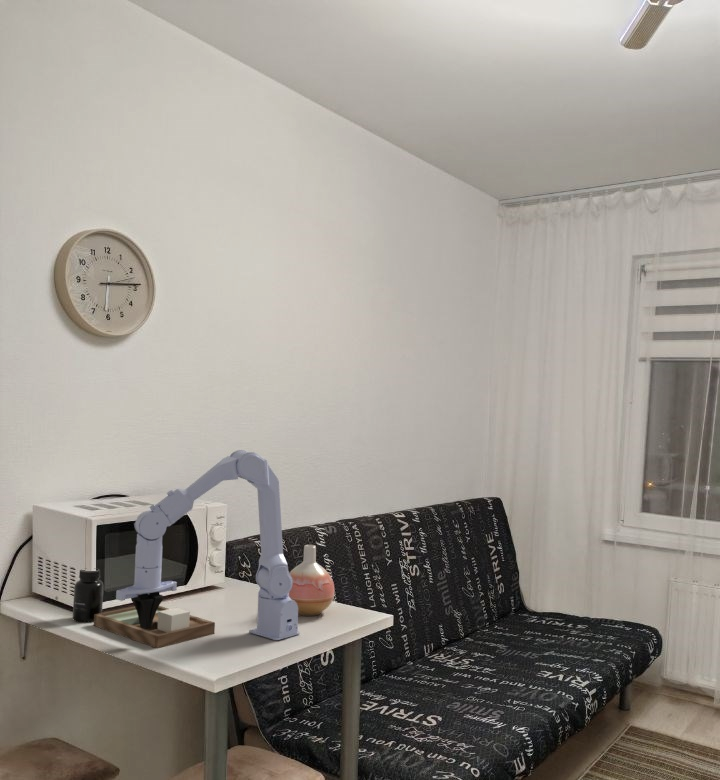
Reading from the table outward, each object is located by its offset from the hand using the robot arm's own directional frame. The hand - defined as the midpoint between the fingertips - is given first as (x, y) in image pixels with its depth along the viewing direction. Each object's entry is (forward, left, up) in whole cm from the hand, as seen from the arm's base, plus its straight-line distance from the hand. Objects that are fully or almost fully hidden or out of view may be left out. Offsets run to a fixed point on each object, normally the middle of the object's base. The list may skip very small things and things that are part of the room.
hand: (145, 627), depth 171 cm
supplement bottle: (+27, -3, -4) cm, 28 cm away
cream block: (0, -8, -2) cm, 8 cm away
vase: (-6, -46, -4) cm, 47 cm away
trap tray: (+9, -9, -4) cm, 13 cm away
